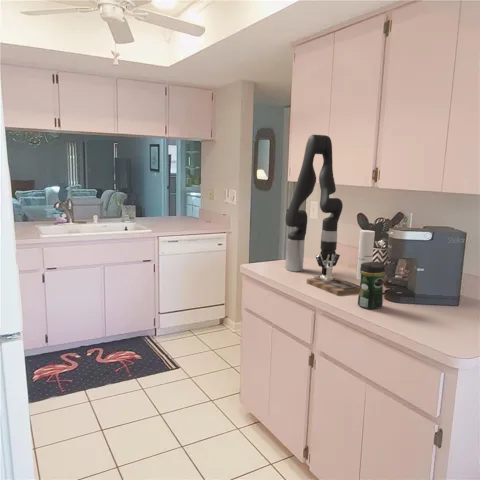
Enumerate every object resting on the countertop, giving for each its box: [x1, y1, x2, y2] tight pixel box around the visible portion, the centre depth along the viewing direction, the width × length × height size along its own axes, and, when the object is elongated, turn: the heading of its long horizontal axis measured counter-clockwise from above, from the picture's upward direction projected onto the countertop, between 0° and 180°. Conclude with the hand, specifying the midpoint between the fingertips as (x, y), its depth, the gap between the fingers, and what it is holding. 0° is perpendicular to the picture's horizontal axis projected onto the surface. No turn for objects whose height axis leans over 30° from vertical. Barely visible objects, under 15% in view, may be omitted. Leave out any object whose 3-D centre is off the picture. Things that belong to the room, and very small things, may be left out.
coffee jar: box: [357, 260, 386, 310], centre depth 165 cm, size 10×8×19 cm
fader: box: [319, 265, 333, 281], centre depth 198 cm, size 5×4×6 cm
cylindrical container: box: [355, 229, 376, 281], centre depth 209 cm, size 7×7×25 cm
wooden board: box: [306, 275, 360, 296], centre depth 193 cm, size 22×16×3 cm
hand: (326, 274), depth 198 cm, fingers closed on fader, 2 cm apart
